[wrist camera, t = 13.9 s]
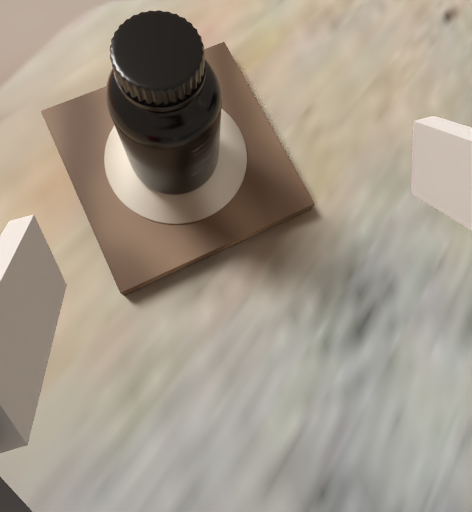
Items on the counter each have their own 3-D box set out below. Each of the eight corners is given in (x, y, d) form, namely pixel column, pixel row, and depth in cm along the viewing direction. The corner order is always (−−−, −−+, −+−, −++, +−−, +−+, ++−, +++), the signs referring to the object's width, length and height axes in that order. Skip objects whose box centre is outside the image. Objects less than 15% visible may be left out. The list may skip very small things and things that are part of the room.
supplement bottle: (114, 174, 33) (59, 71, 21) (156, 104, 34) (128, -29, 23) (195, 213, 32) (185, 129, 20) (234, 140, 34) (246, 23, 22)
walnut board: (223, 52, 37) (224, 40, 36) (310, 209, 34) (314, 202, 33) (47, 120, 35) (40, 109, 33) (123, 295, 32) (119, 292, 30)
